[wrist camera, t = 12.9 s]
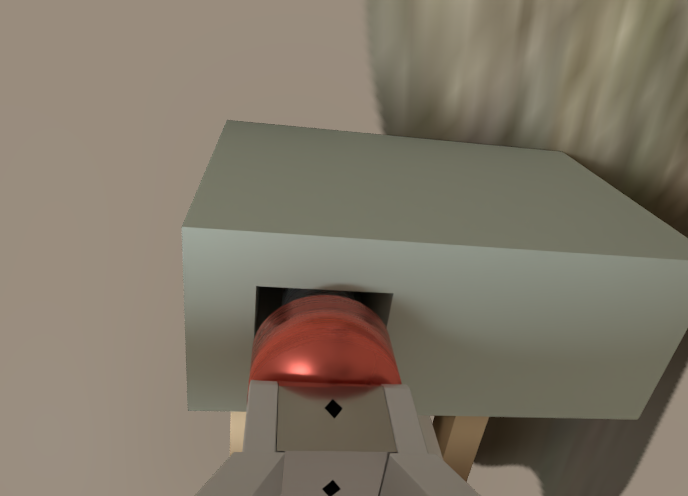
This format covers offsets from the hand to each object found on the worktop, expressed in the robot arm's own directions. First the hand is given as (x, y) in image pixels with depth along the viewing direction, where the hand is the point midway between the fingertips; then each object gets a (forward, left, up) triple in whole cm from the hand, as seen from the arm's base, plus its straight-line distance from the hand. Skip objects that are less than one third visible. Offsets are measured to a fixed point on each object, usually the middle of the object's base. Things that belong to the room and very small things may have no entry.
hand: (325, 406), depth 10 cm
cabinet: (0, +3, -10) cm, 11 cm away
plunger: (0, 0, -8) cm, 8 cm away
